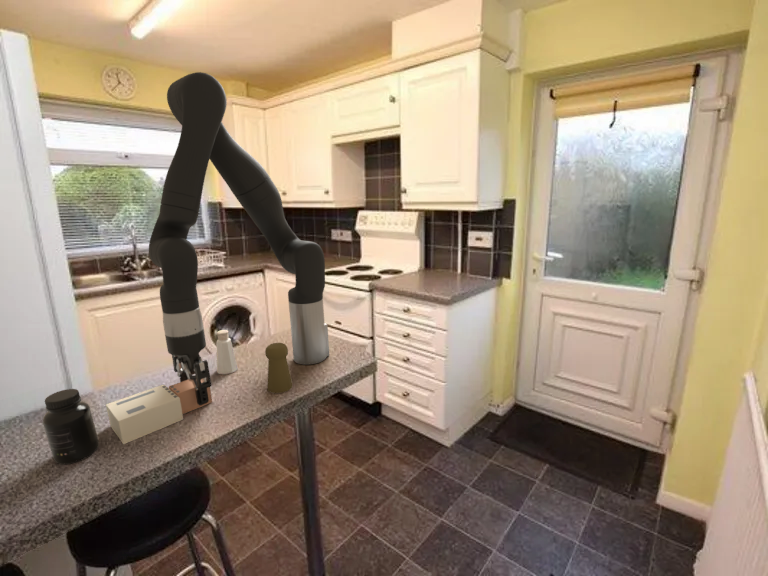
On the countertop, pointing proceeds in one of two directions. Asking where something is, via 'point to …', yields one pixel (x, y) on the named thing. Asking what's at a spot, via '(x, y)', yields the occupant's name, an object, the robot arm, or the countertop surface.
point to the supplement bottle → (69, 427)
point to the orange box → (188, 395)
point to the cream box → (144, 413)
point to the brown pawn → (278, 368)
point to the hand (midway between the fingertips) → (195, 397)
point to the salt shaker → (225, 354)
